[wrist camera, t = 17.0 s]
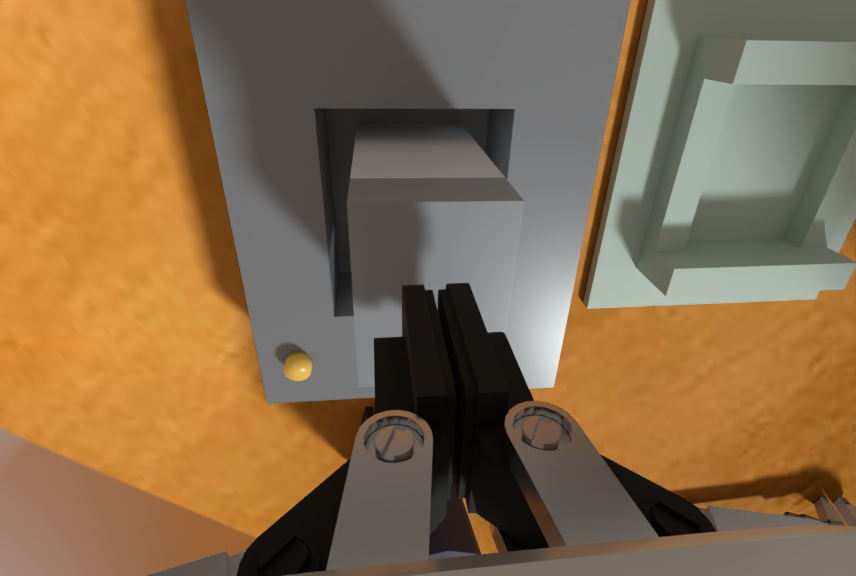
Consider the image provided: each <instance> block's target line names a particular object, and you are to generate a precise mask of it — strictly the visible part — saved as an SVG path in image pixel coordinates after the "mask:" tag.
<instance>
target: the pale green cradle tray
mask: <svg viewBox="0 0 856 576" xmlns="http://www.w3.org/2000/svg"><path fill="white" fill-rule="evenodd" d="M855 219H856V0H648V3H647V8H646V13H645V17H644V22H643V27H642V31H641V36H640V40H639V45H638V50H637V54H636V59H635V64H634V68H633V73H632V78H631V82H630V87H629V92H628V96H627V101H626V106H625V110H624V115H623V119H622V124H621V129H620V133H619V138H618V143H617V147H616V152H615V157H614V161H613V166H612V171H611V175H610V180H609V184H608V189H607V194H606V198H605V203H604V208H603V212H602V217H601V222H600V226H599V231H598V236H597V240H596V245H595V250H594V254H593V259H592V263H591V268H590V273H589V277H588V282H587V287H586V291H585V296H584V301H583V304H584V305H585V306H586V308H587V309H590V308H615V307H639V306H663V305H688V304H712V303H737V302H761V301H785V300H810V299H816V297H817V295H818V293H819V291H820V290H844V288H845V286H846V284H847V283H848V281H849V279H850V277H851V275H852V273H853V271H854V269H855V268H856V262H855V261H853V260H851V259H849V258H847V257H845V256H843V255H841V254H839V251H840V249H841V247H842V245H843V243H844V241H845V239H846V237H847V235H848V233H849V231H850V229H851V227H852V225H853V223H854V221H855Z"/></svg>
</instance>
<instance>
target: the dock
mask: <svg viewBox="0 0 856 576" xmlns="http://www.w3.org/2000/svg"><path fill="white" fill-rule="evenodd" d="M185 2H186V7H187V11H188V16H189V21H190V26H191V31H192V36H193V41H194V46H195V51H196V56H197V61H198V66H199V71H200V75H201V80H202V85H203V90H204V95H205V100H206V105H207V110H208V115H209V120H210V125H211V130H212V134H213V139H214V144H215V149H216V154H217V159H218V164H219V169H220V174H221V179H222V184H223V189H224V193H225V198H226V203H227V208H228V213H229V218H230V223H231V228H232V233H233V238H234V243H235V248H236V252H237V257H238V262H239V267H240V272H241V277H242V282H243V287H244V292H245V297H246V302H247V307H248V311H249V316H250V321H251V326H252V331H253V336H254V341H255V346H256V351H257V356H258V361H259V366H260V370H261V375H262V380H263V385H264V390H265V395H266V400H267V404H272V403H289V402H306V401H324V400H341V399H358V398H375V387H361V388H358V374H357V358H356V342H355V326H354V310H353V293H352V277H351V261H350V245H349V229H348V213H347V198H348V190H349V183H350V175H351V167H352V160H353V152H354V145H355V137H356V129H357V123H461V124H462V125H463V127H464V128H465V129H466V130H467V132H468V133H469V134H470V135H471V136H472V138H473V139H474V140H475V141H476V143H477V144H478V145H479V146H480V147H481V149H482V150H483V151H484V152H485V154H486V155H487V156H488V157H489V158H490V160H491V161H492V162H493V163H494V164H495V166H496V167H497V168H498V169H499V171H500V172H501V173H502V174H503V175H504V177H505V178H506V179H507V180H508V182H509V183H510V184H511V185H512V186H513V188H514V189H515V190H516V191H517V193H518V194H519V195H520V196H521V197H522V199H523V200H524V207H523V215H522V222H521V230H520V237H519V245H518V252H517V259H516V267H515V274H514V282H513V289H512V297H511V304H510V312H509V319H508V327H507V334H506V337H507V339H508V341H509V344H510V346H511V348H512V351H513V353H514V355H515V358H516V360H517V362H518V365H519V367H520V369H521V372H522V374H523V376H524V379H525V381H526V383H527V386H528V388H529V389H532V388H549V387H554V383H555V378H556V373H557V368H558V363H559V357H560V352H561V347H562V342H563V337H564V332H565V327H566V322H567V317H568V312H569V307H570V302H571V297H572V292H573V287H574V282H575V277H576V272H577V267H578V262H579V257H580V252H581V247H582V242H583V237H584V232H585V227H586V222H587V217H588V212H589V207H590V202H591V197H592V192H593V187H594V182H595V177H596V172H597V167H598V162H599V157H600V152H601V147H602V142H603V137H604V132H605V127H606V122H607V117H608V112H609V107H610V102H611V97H612V92H613V87H614V82H615V77H616V72H617V67H618V62H619V57H620V52H621V47H622V42H623V37H624V32H625V27H626V22H627V17H628V12H629V7H630V2H631V0H185Z"/></svg>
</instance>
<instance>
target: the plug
mask: <svg viewBox="0 0 856 576" xmlns="http://www.w3.org/2000/svg"><path fill="white" fill-rule="evenodd" d="M523 207H524V200H523V199H522V197H521V196H520V195H519V194H518V193H517V191H516V190H515V189H514V188H513V186H512V185H511V184H510V183H509V182H508V180H507V179H506V178H505V177H504V175H503V174H502V173H501V172H500V171H499V169H498V168H497V167H496V166H495V164H494V163H493V162H492V161H491V160H490V158H489V157H488V156H487V155H486V154H485V152H484V151H483V150H482V149H481V147H480V146H479V145H478V144H477V143H476V141H475V140H474V139H473V138H472V136H471V135H470V134H469V133H468V132H467V130H466V129H465V128H464V127H463V125H462V124H461V123H357V129H356V137H355V145H354V152H353V160H352V167H351V175H350V183H349V190H348V198H347V213H348V229H349V245H350V261H351V277H352V293H353V310H354V326H355V342H356V358H357V374H358V388H361V387H375V380H374V338H385V337H402V285H422V284H423V285H424V287H425V290H433V294H434V298H435V302H436V307H437V308H438V290H440V289H446V284H449V283H469V284H470V287H471V289H472V292H473V295H474V297H475V300H476V303H477V305H478V308H479V311H480V313H481V316H482V319H483V321H484V324H485V327H486V329H487V332H504V333H505V335H506V334H507V327H508V319H509V312H510V304H511V297H512V289H513V282H514V274H515V267H516V259H517V252H518V245H519V237H520V230H521V222H522V215H523Z"/></svg>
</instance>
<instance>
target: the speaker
mask: <svg viewBox="0 0 856 576" xmlns="http://www.w3.org/2000/svg"><path fill="white" fill-rule="evenodd" d="M372 416H373V410H372V407H365V412H364V416H363V420H362V424H363V423H364V422H365V421H366V420H367V419H369V418H370V417H372ZM362 424H361V425H362ZM471 555H481V552H480V549H479V546H478V543H477V541H476V538H475V535H474V532H473V529H472V526H471V523H470V520H469V517H468V514H467V511H466V508H465V505H464V502H463V500H462V498H457V496H456V492H455V486H454V481H453V475H452V481H451V496H450V499H447V509H446V517H445V518H444V519H443V520H442V522H441V523H440V524H439V525H438V526H437V528H436V529H435V530H434V531H433V532H432V534H431V535H430V541H429V560H432V559H442V558H452V557H461V556H471Z"/></svg>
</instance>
